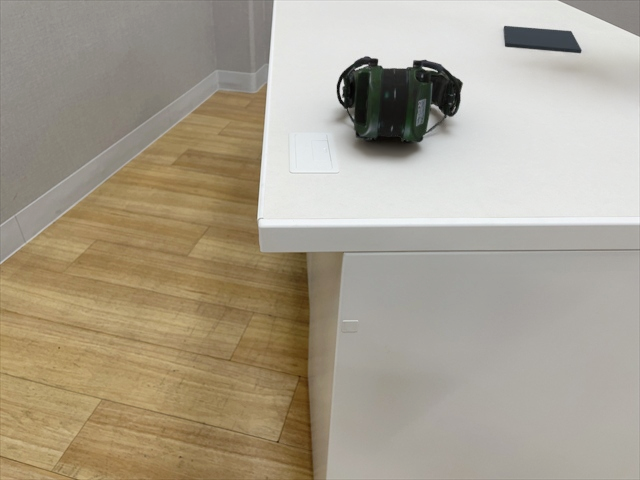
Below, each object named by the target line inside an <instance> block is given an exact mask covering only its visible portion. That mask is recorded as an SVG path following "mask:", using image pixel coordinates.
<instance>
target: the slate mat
mask: <svg viewBox="0 0 640 480" xmlns="http://www.w3.org/2000/svg"><path fill="white" fill-rule="evenodd" d="M503 37H504V46H505V47H510V48H523V49H534V50H544V51H555V52H556V51H557V52H564V53H565V52H566V53H578V54H581V53H582V48H581V46H580V45H579V42H578V41H577V39H576V37H575V35H574V33H573V32H572V30H564V29H563V30H562V29H550V28H540V27H539V28H538V27H526V26H525V27H524V26H513V25H504V26H503Z"/></svg>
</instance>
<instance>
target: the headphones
mask: <svg viewBox="0 0 640 480" xmlns="http://www.w3.org/2000/svg"><path fill="white" fill-rule="evenodd" d="M363 66H364V67H363ZM360 67H361V68H360ZM425 68H427V69H425ZM342 81H343V86H342V88H341V84H342ZM463 84H464V82H463V81H462V80H461V79H460V78H458V77H456V76H455V75H454V74H452V73H451V72H450V71H449V70H448V69H446V68H445V67H444V65H442V63H438V62H436V61H435V62H434V61H431V60H427V59H421V60H419V59H414V60H413V61H412V66H407V67H406V68H402V67H401V68H397V67H389V68H388V67H387V68H385V67H383V65H379V59H378V58H375V57H370V56H368V55H365V56H364V57H360V58H357V60H355V61H354V62H353V63H352V64H351V65H348V67H346V68H345V69H344V70H343V71H342V72H341V74H339V77H338V80H337V83H336V97H337V100H338V103H339V104H340V105H341V106H342V107H343V109H345V111H346V113H347V115H348V118H349V119H350V121H351V122H352V124H353V130H354V131H355V137H356V138H357V139H359V140H363V141H368V142H369V141H372V140H373V141H376V140H377V138H378V137H379V136H381V137H385V138H388V137H389V138H390V137H400V139H401V142H405V143H407V144H413V143H421V142H422V141H423V140H424V136H425V135H427V134H429V133H431V132H432V131H433V130H435V129H436V128H437V127H439V126H440V125H441V124H442V123H443V122H444V120H445V119H447V117H449V118H452V117H453V118H454V116H455V115H456V114H457V113H458V111H459V108H460V106H461V101H462V100H461V99H462V97H461V96H462V94H461V92H462V88H463ZM341 89H342V95H341ZM432 105H434V106H435V107H437V108H438V110H440V113H442V114H443V117H442V118H441V119H440V120H439V121H438V122H437V123H435V124H434V125H433V126H432V127H430V128H429V129H428V126H429V120H430V114H431V107H432ZM349 109H350V110H352V109H353V115H352V114H351V112H350V111H349Z"/></svg>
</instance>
